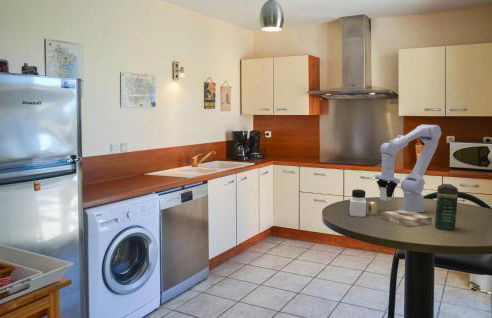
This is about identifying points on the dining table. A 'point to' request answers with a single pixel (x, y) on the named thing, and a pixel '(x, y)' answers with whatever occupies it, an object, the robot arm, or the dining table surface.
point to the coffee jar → (446, 207)
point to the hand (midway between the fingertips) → (386, 196)
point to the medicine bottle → (358, 203)
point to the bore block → (406, 218)
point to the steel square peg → (384, 194)
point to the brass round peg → (372, 208)
